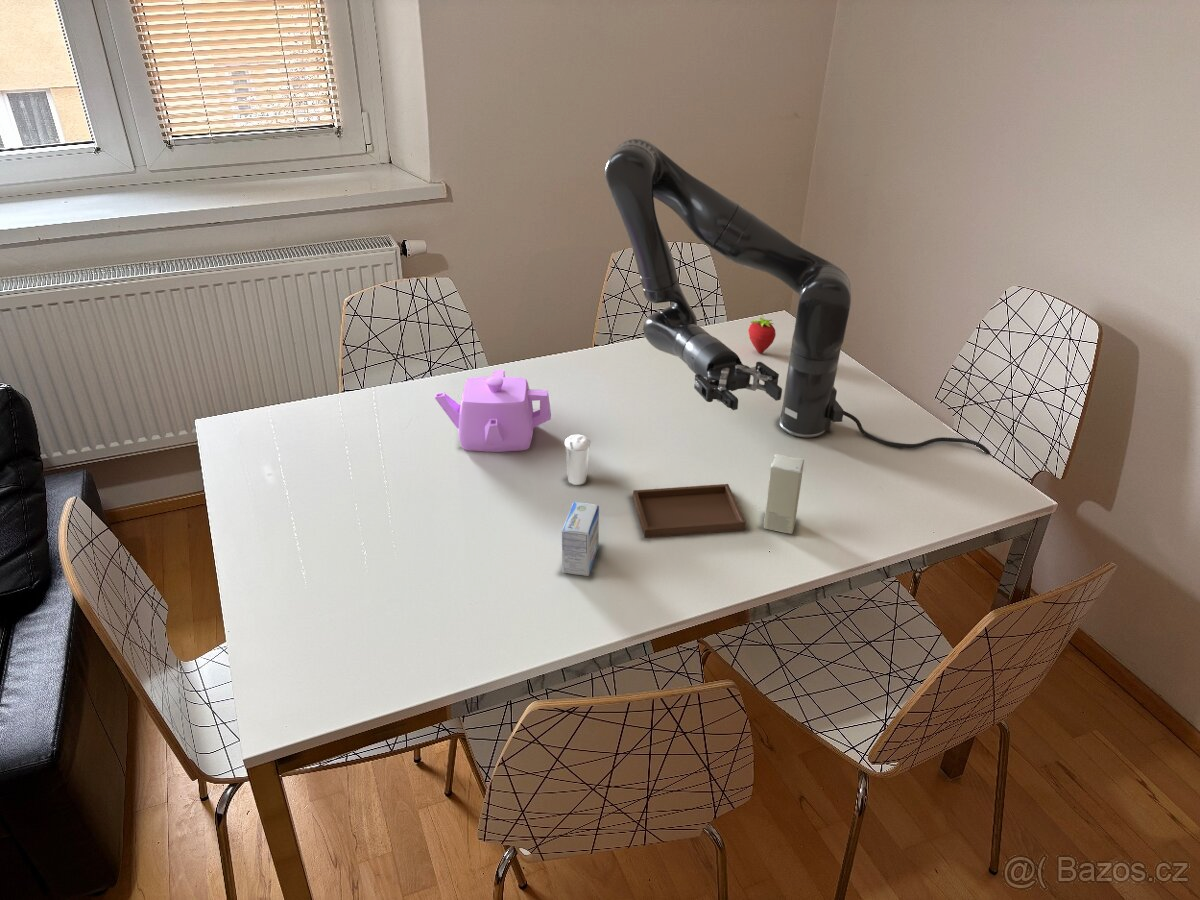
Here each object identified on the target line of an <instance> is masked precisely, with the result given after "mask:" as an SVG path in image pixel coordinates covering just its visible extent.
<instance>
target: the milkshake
mask: <svg viewBox="0 0 1200 900" xmlns="http://www.w3.org/2000/svg"><path fill="white" fill-rule="evenodd" d="M590 449H591V440H590V439H589V438H588V437H587V436H586V435H584V434H571V435H569V436H568V437H567V438H565V440H564V450H565V459H566V471H567V481H568V482H569V484H571V485H573V486H580V485H584V484H585V483H586V481H587V478H588V477H587V476H588V468H589V467H588V466H589V457H590Z"/></svg>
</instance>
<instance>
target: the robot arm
mask: <svg viewBox="0 0 1200 900" xmlns="http://www.w3.org/2000/svg"><path fill="white" fill-rule="evenodd" d="M604 178H605V182H606V185H607V187H608V190H609V193H610V195H611V197H612V199H613V202H614V204H615V206H616V208H617V210H618V213H619V215H620V217H621V220H622V223H623V226H624V228H625V231H626V233H627V236H628V240H629V243H630V245H631V248H632V252H633V256H634V260H635V265H636V267H637V272H638V275H639V280H640V283H641V288H642V291H643V296H644V297H645V300H646V301H648V303H651V304H662V303H670V305H669V306H668V307H665V308H663V309H660V310H658V311H656V312H653V313H652V314H650V315H649V316H646V318H645V320H644V321H643V327H642V328H643V329H642V330H643V334H644V338H645V339H646V340H647V342H648V343H649V344H650V345H651V346H652V347H653V348H654V349H656V350H659V351H661V352H663V353H665V354H669V355H672V356H674V357H678V358H679V359H680V360H681V361H682V362H683V363H684V364H686V366H687V367H688V368H689V370H690V371H691V372H693V373H694V383H693V385H694V386H693V388H694V390H695V391H696V392H697V393H698V394H699V395H700V396H701V397H702V399H704V400H705V401H706V402H707V403H712V402H713V401H714V400H716V401H717V402H719V403H722V404H723V405H724V406H725V407H726V408H728V409H730V410H732V411H736V410H738V408H739V398H738V397H737V396H736V395H735V394H733V393H732V392H735V391H737V390H743V389H745V390H750V391H754V392H755V391H757V390H760V391H762V392H765V394H767V395H768V396H769V397H771V398H772V399H773V400H774V401H776V402H777V401H781V400H782V405H781V411H780V418H779V421H778V425H779V427H780V428H781V430H783V431H784V432H785V433H787V434H788V435H791V436H794V437H798V438H805V439H806V438H807V439H808V438H809V439H810V438H812V439H813V438H817V437H821V436H822V435H824V434H825V433H830V430H831V426H832V423H841V422H843V419H844V416H845V417H846V418H849V419H850V420H852V421H853V422H854V423H855V424H856V426H857V429H858V431H859V432H860V433H861V434H862V435H863V436H865V437H866V438H868V439H870V440H873V441H874V442H877V443H880V444H882V445H885V446H890V447H894V448H902V449H903V448H904V449H916V448H921V447H925V446H927V445H931V444H934V443H938V442H946V443H947V442H949V443H964V444H969V445H973V446H976V447H977V448H978V449H981V450H982V451H983V452H984V454H986V455H991V454H992V453H991V451H990V450H989V449H988V448H987V447H986V446H985V445H984V444H983V443H981V442H979V441H976V440H973V439H968V438H961V437H946V436H945V437H943V436H942V437H934V438H930V439H927V440H924V441H921V442H917V443H901V442H893V441H888V440H884V439H881V438H878V437H876V436H874V435H872V434H870V433H869V432H867V431H866V430H865V429H864V428H863V426H862V423H861V421H860V419H858V418H857V417H856V416H854V415H853V414H851V413H849V412H848V411H845V410H844V409H843V407H842V406H841V405H840V403H839V402H838V401H837V400H836V399H837V394H838V390H837V389H836V387H835V381H836V377H837V370H838V367H839V366H838V365H839V360H840V354H841V351H842V346H843V343H844V340H845V335H846V332H847V331H846V330H847V327H848V321H849V317H850V311H851V304H852V289H851V282H850V278H849V276H848V274H847V273H846V272H845V270H843V268H841V267H840V266H839V265H837V264H834V263H833V262H831V261H828V260H827V259H825V258H823V257H821V256H819V255H817V254H815V253H813V252H811V251H810V250H807V249H805V248H803V247H802V246H800V245H799V244H797V243H795V242H793V241H792V240H790V239H789V238H788V237H787V236H785V235H784V234H783V233H781V232H780V231H779V230H777V229H775V227H773V226H771V225H770V224H768V223H767V222H765V221H764V220H762V219H761V218H760V217H758V216H757V215H756V214H754V213H753V212H751V211H750V210H748V209H747V208H745V207H743V206H742V205H740V204H738V203H737V202H735V201H734V200H733V199H730V198H729V197H728V196H725V195H724V194H723V193H721V192H719V190H716V189H715V188H714V187H711V186H710V185H709V184H707V183H706V182H704V181H702V180H700V179H698V178H697V177H695V176H693V175H692V174H691V173H690V172H688V171H686V170H685V169H684V168H683V167H682V166H680V165H679V164H678V163H676V161H674V160H672V158H671V157H669V155H667V154H666V153H664V152H663V151H662V150H661V149H660V148H658V147H657V146H655V144H654V143H652V142H650V141H648V140H646V139H643V138H639V137H633V138H628V139H625V140H623V141H622V142H621V143H620V144H618V146H617V147H616V148H615V150H614V151H613V152H612V154H610V156H609V157H608V159H607V160H606V164H605V168H604ZM655 200H658V201H659V202H660V203H662V204H664V205H665V206H667V207H668V208H669V209H671V210H672V211H673V212H674V213H675V214H676V215H677V216H678V218H679V219H680V220H681V221H682V223H684V225H685V226H686V227H687V228H688V229H689V230H690V231H691V232H692V233H693V235H694V236H695V237H696V238H697V239H698V240H699V241H700V242H701V243H702V244H704V245H705V246H706V247H708V248H710V249H711V250H712V251H714V252H715V253H717V254H719V255H720V256H721V257H723V258H724V259H727V260H728V261H730V262H732V263H733V264H737V265H739V266H742V267H745V268H748V269H753V270H756V271H760V272H762V273H766V274H768V275H770V276H772V277H774V278H776V279H777V280H779V281H781V282H782V283H784V284H785V285H786V286H788V287H789V289H792V291H794V292H795V293H796V294H797V295H799V296H798V303H797V309H796V316H795V323H794V328H793V329H794V330H793V334H792V338H791V339H792V340H791V346H790V353H789V360H788V366H787V372H786V378H785V379H786V380H785V386H784V391H783V388H782V387H781V386H780V385H778V383H779V377H780V374H779V373H778V372H777V371H776V370H774V369H772V368H771V367H770V366H768V365H767V364H765V363H764V362H763V361H757V362H755V366H751V367H750V366H748V365H745V364H743V362H742V361H741V358H740V357H739V355H738V354H737V353H736V352H735V351H733V350H732V349H731V348H730V347H728V346H727V345H726V344H724V343H723V342H722V341H721V340H720V339H718V338H717V337H715V336H713V335H711V334H710V333H709V332H707V331H706V330H705V329H704V328H702V327H701V326H700V325H698V319H697V316H696V313H695V312H694V310H693V309H692V307H691V305H690V304H689V302H688V300H687V298H686V296H685V294H684V292H683V289H682V287H681V286H680V282H679V278H678V273H677V269H676V265H675V260H674V257H673V253H672V251H671V248H670V245H669V244H668V241H667V240H666V238H665V236H664V233H663V232H662V231H663V230H662V229H661V227H660V224H659V222H658V217H657V213H656V208H655ZM751 376H752V378H753V380H752V383H750V382H751ZM760 381H762V382H763V384H762V383H760ZM782 394H783V399H782Z"/></svg>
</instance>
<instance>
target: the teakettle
mask: <svg viewBox="0 0 1200 900" xmlns="http://www.w3.org/2000/svg"><path fill="white" fill-rule="evenodd" d="M434 399H435V401H436V403H438V405H439V406H440V407H441V409H442V410H443V411H444V413H445V414H446V416H448V417H447V418H449V419H450V421H451V422H452V424H453V425H454V426H455V428H456V429H458V440H459V443H460V446H461V448H462V450H465V451H470V452H471V451H472V452H487V453H492V452H493V453H494V452H495V453H503V452H505V453H506V452H519V451H520V452H521V451H526V450H529V449H530V446H531V444H532V440H533V435H534V434H533V433H534V429H535V428H536V427H538V426H540V425H543V424H544V423H546V422H549V421H550V420H551V419H552V409H551V404H550V395H549V390H548V389H530V386H529V383H528V380H527V378H524V377H518V376H506V372H505V369H493V371H492V375H491V376H474V377H468V378H466V381H465V383H464V387H463V391H462V396H461V402H460V404H459V403H458V402H457V401H455V400H454V399H453V398H452V397H450V396H449V395H447V393H446V392H437V393H435V395H434ZM533 401H539V409H538V410H535V411H534V405H533Z"/></svg>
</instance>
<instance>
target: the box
mask: <svg viewBox="0 0 1200 900" xmlns="http://www.w3.org/2000/svg"><path fill="white" fill-rule="evenodd" d="M804 465H805V459H804V458H801V457H800V458H799V457H794V456H789V455H783V454H778V453H777V454H776V453H775V454H774V456H773V459H772V461H771V463H770V469H769V478H768V487H767V495H766V503H765V512H764V519H763V529H765V530H770V531H776V532H778V533H779V532H780V533H784V534H789V535H792V534H793V532H794V529H795V526H796V521H797V514H798V513H797V512H798V506H799V500H800V493H801V486H802V480H803V472H804Z"/></svg>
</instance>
